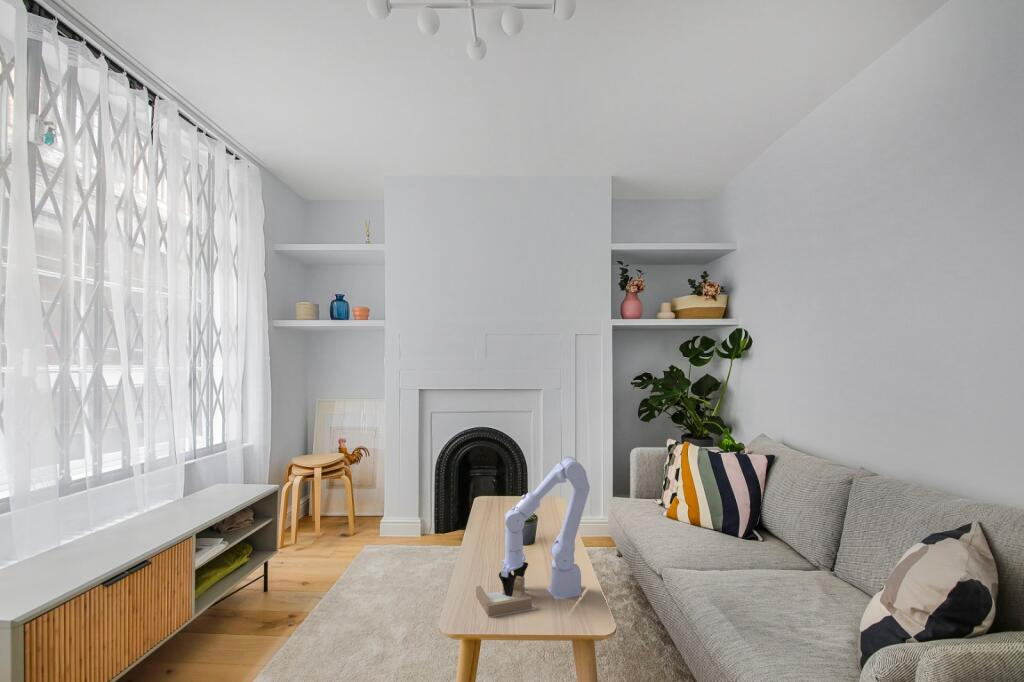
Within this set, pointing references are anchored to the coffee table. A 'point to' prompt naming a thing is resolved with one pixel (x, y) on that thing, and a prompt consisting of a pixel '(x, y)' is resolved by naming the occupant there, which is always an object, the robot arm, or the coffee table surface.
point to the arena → (503, 603)
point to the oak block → (518, 587)
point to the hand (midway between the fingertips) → (513, 590)
